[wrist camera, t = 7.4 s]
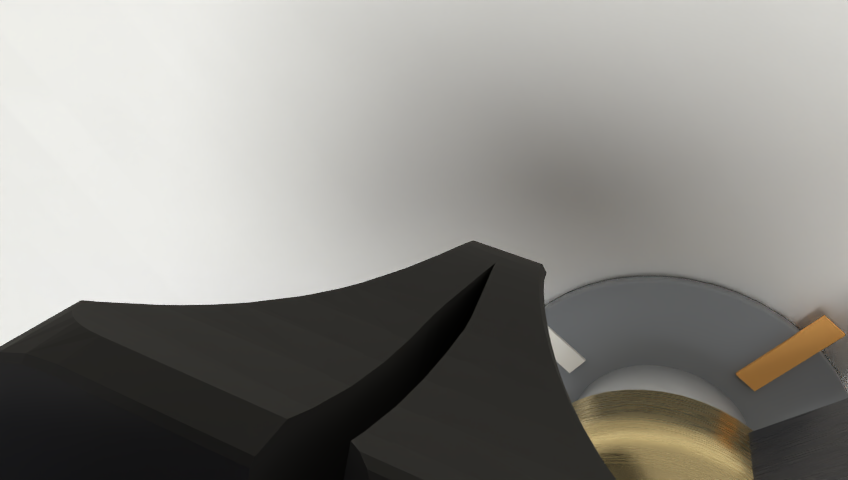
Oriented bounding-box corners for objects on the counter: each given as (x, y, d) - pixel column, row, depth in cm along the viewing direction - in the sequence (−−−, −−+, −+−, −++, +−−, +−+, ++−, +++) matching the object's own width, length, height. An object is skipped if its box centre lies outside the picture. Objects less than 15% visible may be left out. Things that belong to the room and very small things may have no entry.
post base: (835, 585, 17) (854, 671, 15) (508, 523, 21) (487, 586, 19) (879, 284, 14) (910, 342, 12) (481, 268, 17) (453, 311, 15)
